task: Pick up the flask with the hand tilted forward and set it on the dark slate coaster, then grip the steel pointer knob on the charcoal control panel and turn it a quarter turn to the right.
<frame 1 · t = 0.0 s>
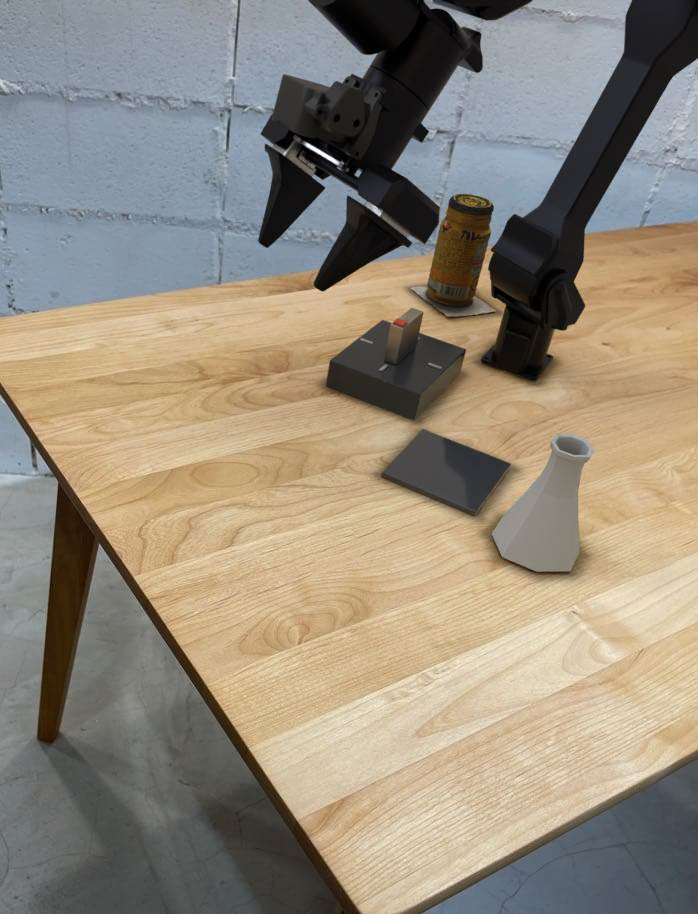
hand: (288, 266, 70), 15 cm above the table, tool tilted 35°, fingers open, 9 cm apart
panel: (394, 380, 88), on the table
condiment: (451, 302, 105), on the table
coaster: (446, 472, 76), on the table
knob: (404, 334, 84), point 5 cm above the table, hinge at 0.0°
flask: (533, 547, 69), on the table
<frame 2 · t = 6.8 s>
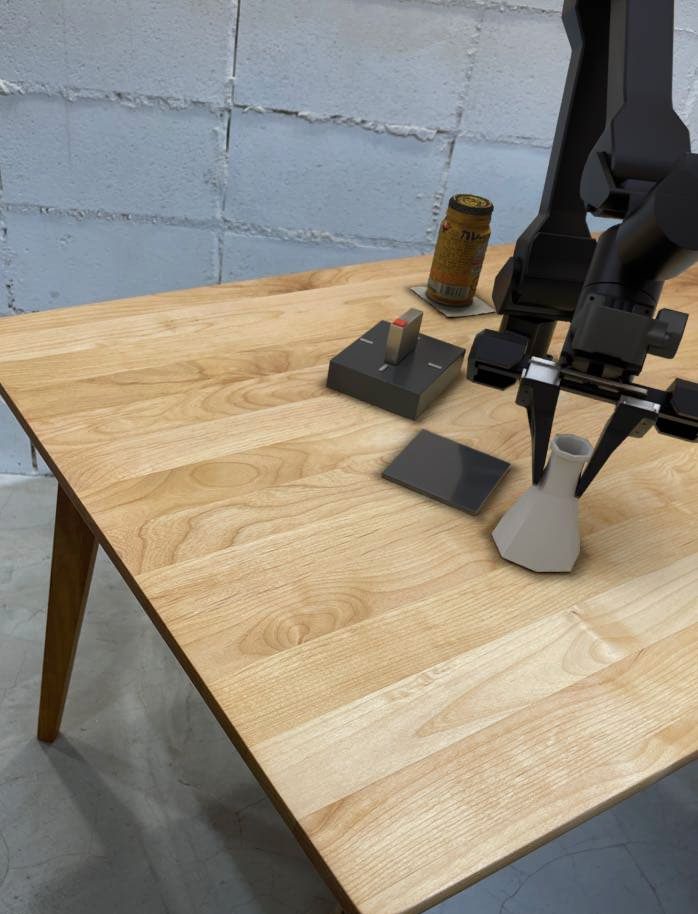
hand: (556, 491, 64), 7 cm above the table, tool tilted 45°, fingers closed on flask, 3 cm apart
flask: (533, 547, 69), on the table, touching gripper
everything else where it was.
when the fingers open (7 cm above the table, at t = 10.8 s): flask stays where it is, resting on coaster.
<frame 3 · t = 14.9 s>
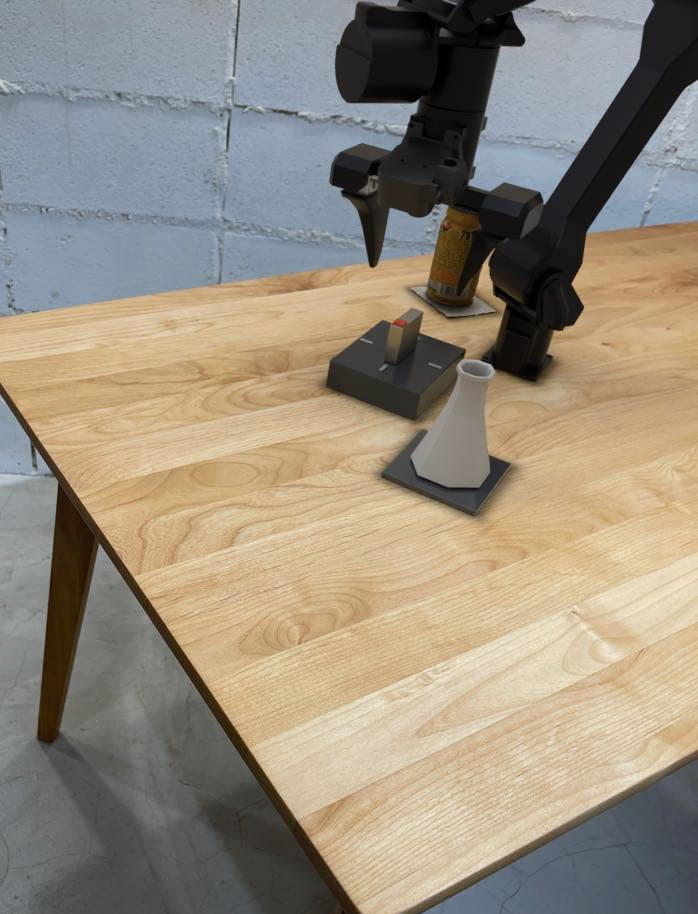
hand: (415, 280, 81), 11 cm above the table, tool pointing down, fingers open, 9 cm apart
flask: (449, 468, 76), resting on coaster
everything else where it was.
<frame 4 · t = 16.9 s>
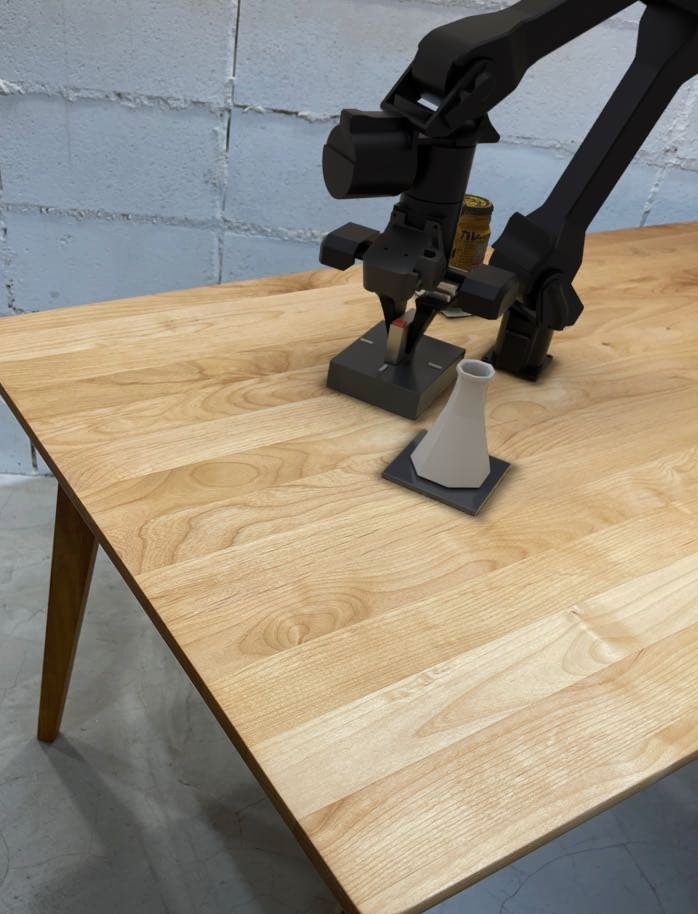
hand: (400, 349, 85), 4 cm above the table, tool pointing down, fingers closed on knob
knob: (404, 334, 84), point 5 cm above the table, hinge at 0.0°, touching gripper
everything else where it was.
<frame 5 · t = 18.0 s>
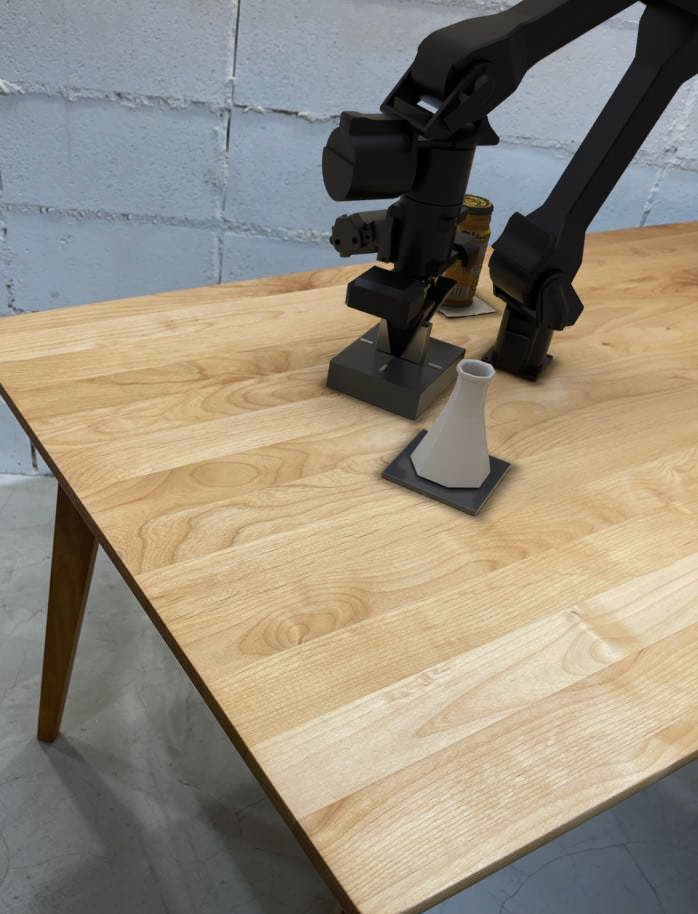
hand: (400, 351, 86), 3 cm above the table, tool pointing down, fingers closed
knob: (404, 334, 84), point 5 cm above the table, hinge at -89.2°
everything else where it was.
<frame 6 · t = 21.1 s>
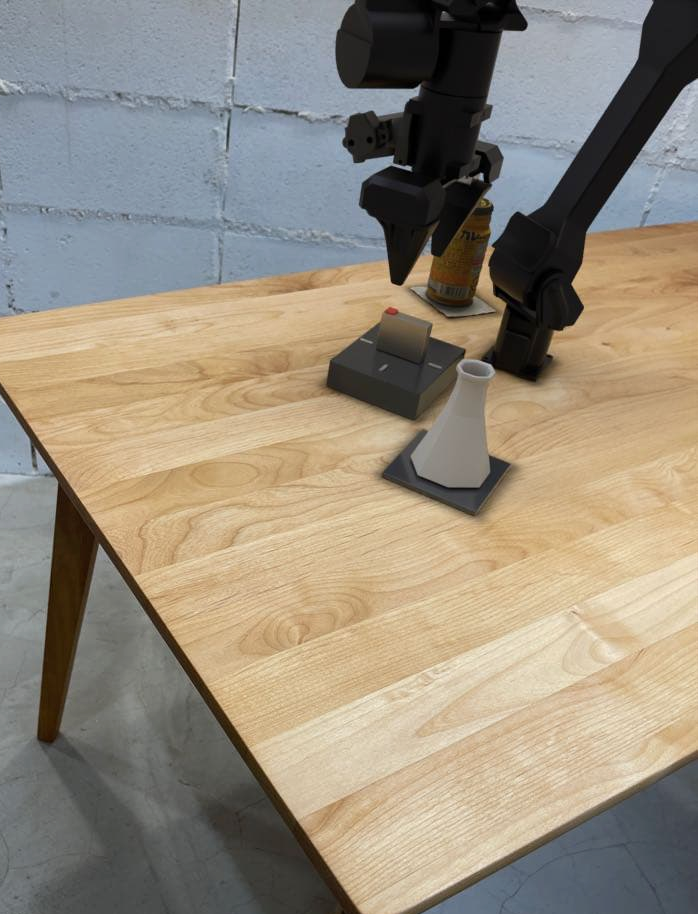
hand: (417, 269, 80), 12 cm above the table, tool pointing down, fingers open, 9 cm apart
nothing on the table moved.
at the end: flask 0.2 cm off-centre on the coaster, point 0.3 cm above the coaster's base; flask tilted 0°; knob at -89° (first picture: +0°) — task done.
